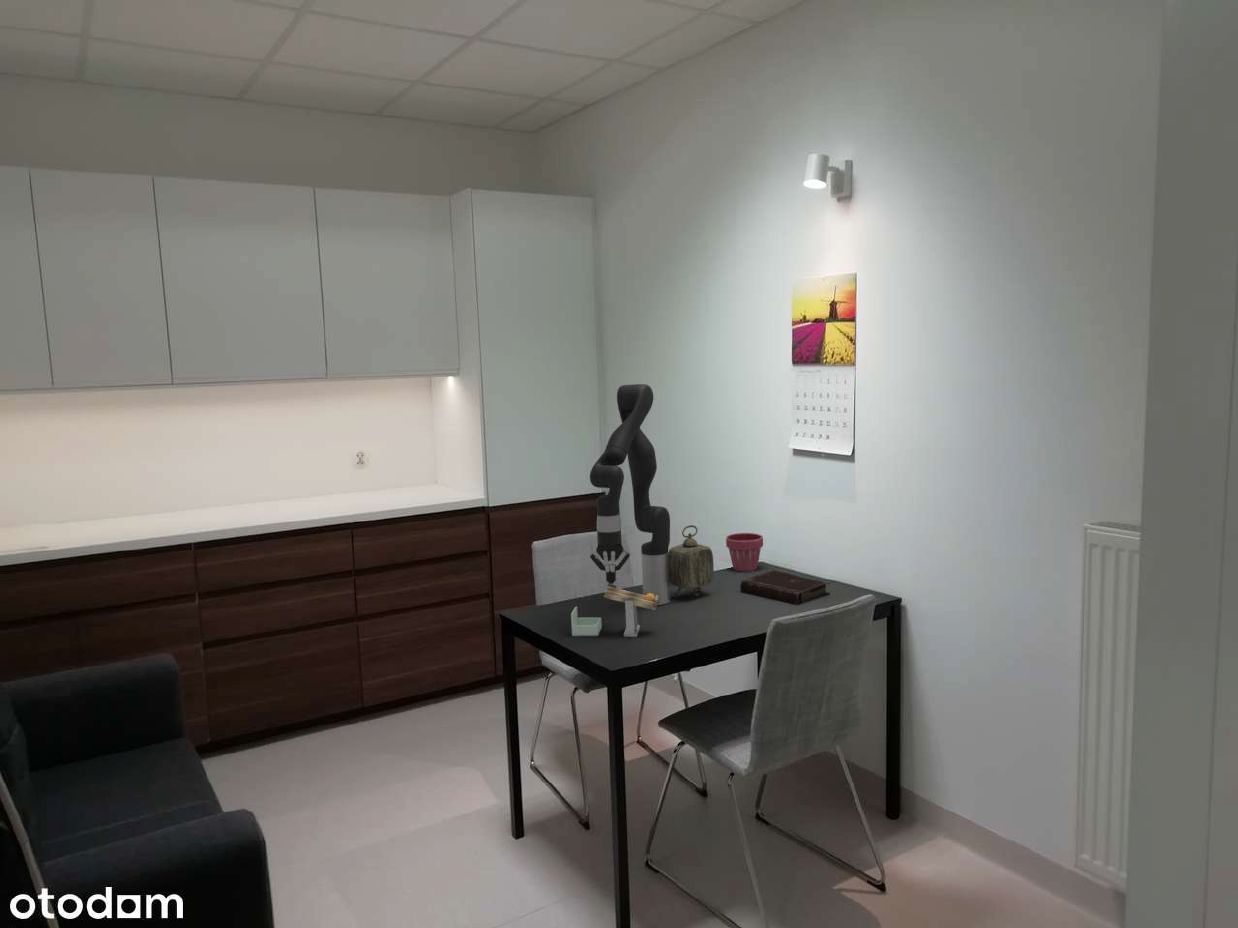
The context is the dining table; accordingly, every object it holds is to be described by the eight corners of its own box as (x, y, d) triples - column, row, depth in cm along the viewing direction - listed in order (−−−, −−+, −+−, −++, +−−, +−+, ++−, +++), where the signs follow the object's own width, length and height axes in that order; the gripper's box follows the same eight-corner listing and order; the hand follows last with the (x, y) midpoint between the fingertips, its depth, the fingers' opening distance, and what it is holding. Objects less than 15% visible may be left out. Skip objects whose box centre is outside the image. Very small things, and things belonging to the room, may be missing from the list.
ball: (644, 601, 274) (645, 591, 274) (654, 602, 274) (656, 592, 273) (643, 604, 271) (645, 594, 271) (653, 605, 271) (655, 595, 270)
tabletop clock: (699, 589, 319) (696, 520, 316) (716, 594, 312) (714, 524, 309) (668, 597, 311) (665, 527, 308) (685, 602, 304) (683, 530, 301)
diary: (797, 607, 295) (796, 592, 294) (740, 594, 314) (739, 580, 313) (831, 594, 307) (831, 580, 306) (774, 582, 326) (774, 569, 325)
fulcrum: (623, 636, 270) (622, 601, 269) (627, 627, 279) (625, 593, 278) (636, 636, 270) (635, 601, 268) (639, 627, 279) (638, 592, 277)
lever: (602, 597, 271) (604, 587, 271) (607, 587, 283) (609, 577, 282) (654, 611, 270) (657, 600, 269) (657, 600, 281) (660, 590, 281)
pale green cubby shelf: (576, 628, 280) (575, 606, 280) (601, 627, 279) (600, 606, 279) (572, 636, 273) (570, 613, 272) (597, 636, 272) (596, 613, 271)
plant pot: (749, 575, 337) (748, 541, 335) (719, 570, 346) (718, 537, 345) (770, 567, 347) (770, 535, 345) (741, 562, 357) (740, 531, 355)
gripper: (631, 526, 281) (633, 580, 283) (589, 526, 283) (592, 580, 285) (628, 530, 274) (630, 586, 276) (586, 531, 275) (588, 586, 277)
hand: (611, 583), depth 280 cm, fingers closed
